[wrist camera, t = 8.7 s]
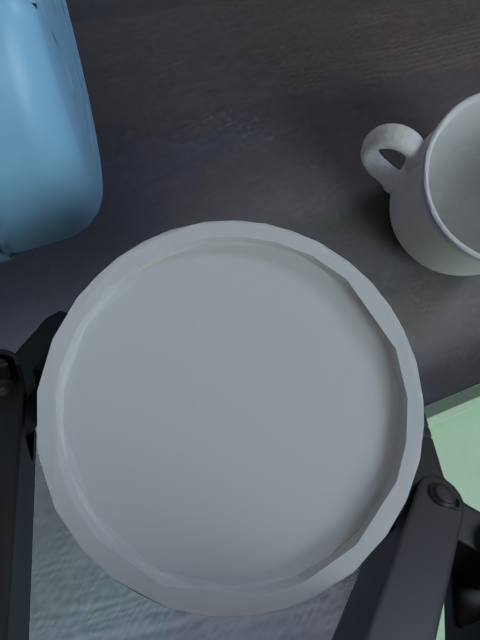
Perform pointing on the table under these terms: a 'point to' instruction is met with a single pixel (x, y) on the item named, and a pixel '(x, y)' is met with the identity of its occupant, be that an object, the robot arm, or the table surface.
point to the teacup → (434, 188)
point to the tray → (458, 447)
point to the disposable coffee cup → (229, 419)
